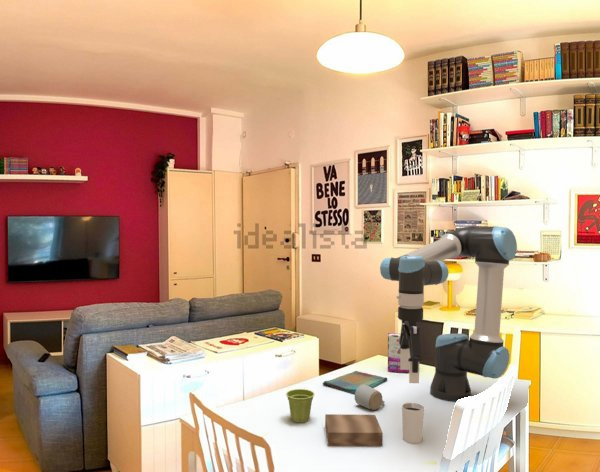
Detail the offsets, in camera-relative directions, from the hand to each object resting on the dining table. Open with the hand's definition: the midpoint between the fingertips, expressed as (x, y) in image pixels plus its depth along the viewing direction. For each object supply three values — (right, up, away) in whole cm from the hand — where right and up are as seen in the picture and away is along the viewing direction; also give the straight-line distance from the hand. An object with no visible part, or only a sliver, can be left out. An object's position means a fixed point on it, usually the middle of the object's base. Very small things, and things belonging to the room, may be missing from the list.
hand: (409, 376), depth 157 cm
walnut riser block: (-17, -19, +1) cm, 26 cm away
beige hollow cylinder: (+1, -19, 0) cm, 19 cm away
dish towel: (-11, -18, +52) cm, 56 cm away
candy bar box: (+11, -17, +70) cm, 73 cm away
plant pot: (-33, -19, +14) cm, 41 cm away
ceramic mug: (-8, -18, +27) cm, 34 cm away
